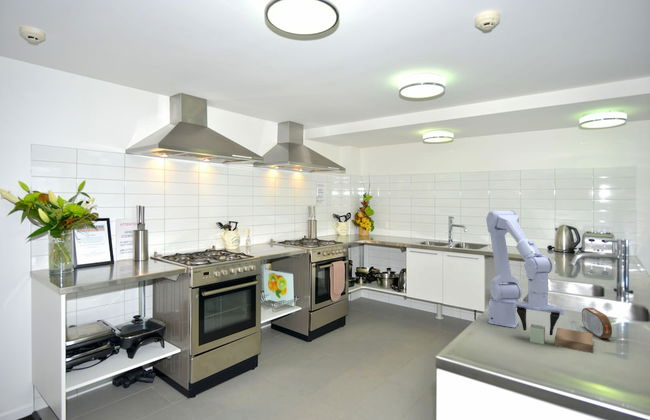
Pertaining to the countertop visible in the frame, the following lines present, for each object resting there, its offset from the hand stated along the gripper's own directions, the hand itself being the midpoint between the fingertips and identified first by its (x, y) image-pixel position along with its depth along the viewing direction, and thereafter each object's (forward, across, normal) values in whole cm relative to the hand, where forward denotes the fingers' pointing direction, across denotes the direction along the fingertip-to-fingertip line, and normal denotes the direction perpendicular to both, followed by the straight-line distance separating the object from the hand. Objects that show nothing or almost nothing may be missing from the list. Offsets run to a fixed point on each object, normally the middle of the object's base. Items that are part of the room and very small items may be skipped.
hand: (537, 332), depth 120 cm
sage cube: (+3, 0, 0) cm, 3 cm away
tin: (+3, +16, +20) cm, 26 cm away
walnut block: (+4, +10, +5) cm, 12 cm away
